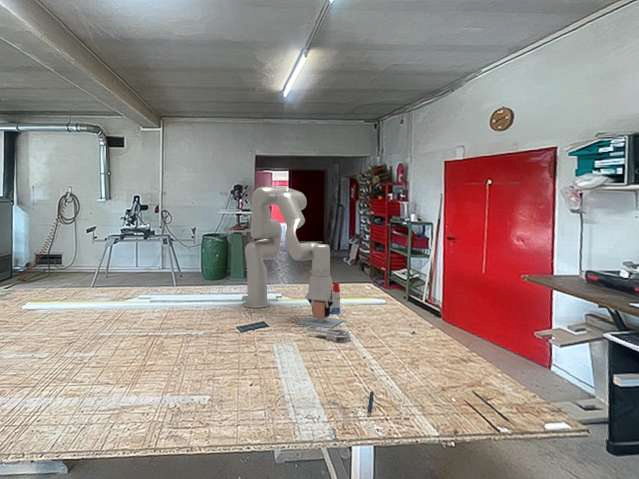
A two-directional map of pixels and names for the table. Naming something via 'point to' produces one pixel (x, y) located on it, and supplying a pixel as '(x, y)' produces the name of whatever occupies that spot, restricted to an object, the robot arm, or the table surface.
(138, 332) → the table surface
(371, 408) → the pencil
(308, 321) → the post fixture
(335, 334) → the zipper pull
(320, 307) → the salmon pink block
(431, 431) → the table surface
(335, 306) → the ink box
